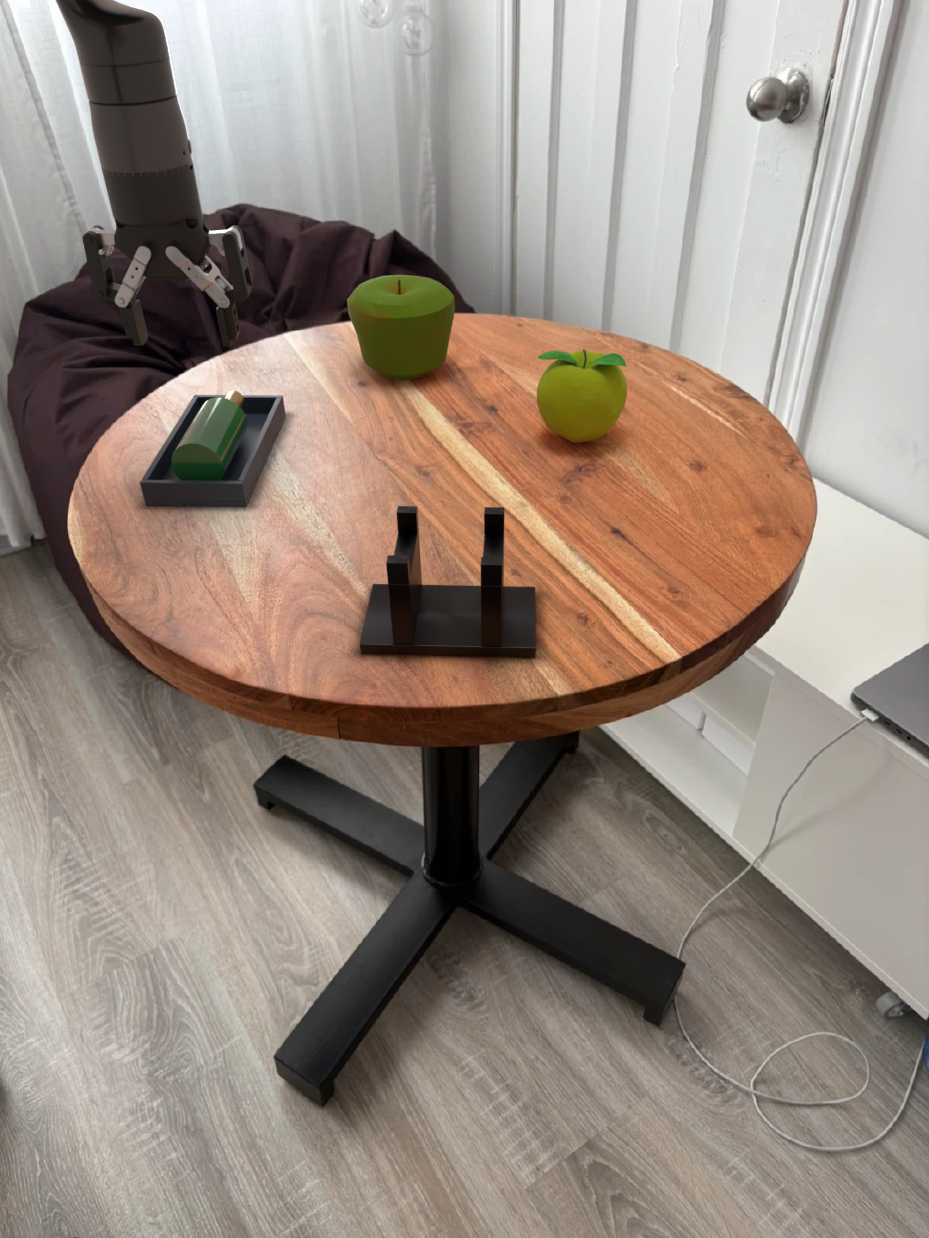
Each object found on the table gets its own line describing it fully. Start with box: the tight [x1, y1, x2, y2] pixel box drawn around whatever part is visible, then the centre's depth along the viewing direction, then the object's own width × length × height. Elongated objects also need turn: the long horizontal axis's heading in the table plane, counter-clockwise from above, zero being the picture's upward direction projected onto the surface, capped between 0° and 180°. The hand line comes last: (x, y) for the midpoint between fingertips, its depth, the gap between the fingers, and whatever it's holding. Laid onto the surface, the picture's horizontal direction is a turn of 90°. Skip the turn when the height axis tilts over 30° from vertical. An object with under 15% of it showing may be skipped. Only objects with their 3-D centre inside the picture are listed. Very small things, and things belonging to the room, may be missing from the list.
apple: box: [346, 274, 456, 382], centre depth 112 cm, size 12×12×11 cm
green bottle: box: [171, 390, 248, 481], centre depth 97 cm, size 15×5×5 cm, turn 177°
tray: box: [139, 394, 287, 507], centre depth 98 cm, size 19×10×3 cm, turn 177°
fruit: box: [536, 348, 628, 444], centre depth 98 cm, size 9×9×10 cm
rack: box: [359, 505, 537, 658], centre depth 74 cm, size 14×8×9 cm, turn 87°
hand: (185, 343), depth 88 cm, fingers open, 8 cm apart
